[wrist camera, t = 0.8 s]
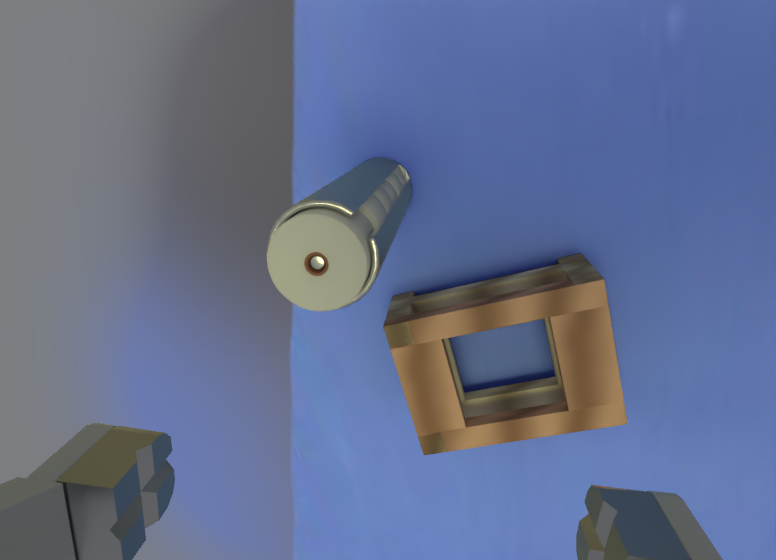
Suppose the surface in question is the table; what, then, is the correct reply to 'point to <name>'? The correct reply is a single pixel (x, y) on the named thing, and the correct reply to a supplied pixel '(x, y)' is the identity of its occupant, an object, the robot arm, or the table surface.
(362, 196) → the silver metal cylinder
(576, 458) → the table surface
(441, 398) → the frame
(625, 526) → the robot arm
